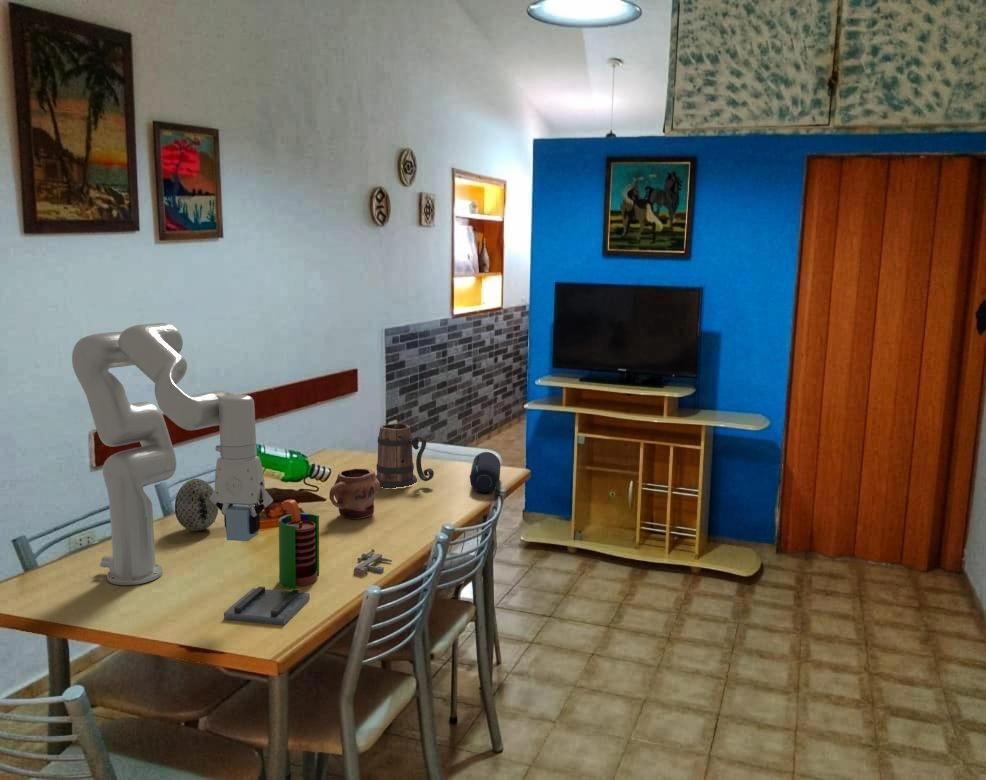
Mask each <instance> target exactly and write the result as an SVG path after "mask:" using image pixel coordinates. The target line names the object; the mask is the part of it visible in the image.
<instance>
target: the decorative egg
mask: <svg viewBox="0 0 986 780" xmlns="http://www.w3.org/2000/svg"><path fill="white" fill-rule="evenodd" d="M214 490H215V489H214V488H213V487H212V485H210V484H209V483H208V482H207V481H205V480H203V479H200V478H192V479H190V480H188V481H186V482H185V483H184V484H182V486H181V487H180V488H179V490H178V492H177V494H176V497H175V500H174V502H175V503H174V512H175V517H176V519H177V521H178V523H179V524H180V525H181V526H182V527H183V528H185V529H186V530H189V531H192V532H201V531H204V530H206V529H208V528H209V527H211V526H212V525H213V524H214V522H215V521H216V519H217V516H218V513H219V508H218V507H217V506H216V504H214V503H213V502H212V501H211V500H210V499H209V497H210V496H211V495H212V493H213V492H214Z"/></svg>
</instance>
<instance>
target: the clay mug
mask: <svg viewBox="0 0 986 780" xmlns="http://www.w3.org/2000/svg"><path fill="white" fill-rule="evenodd" d="M376 475H377V473H376V472H375V470H373V469H370V468H351V469H346V470H343V471H340V472H339V473H338V474H337V478H336V480H335V482H334V484H333V485H332V486H331V488H330V490H329V498H328V499H329V500H330V501H331V503H332V505H333V506H334V507H336V508H338V512H339V514H340V516H341V517H342V518H344V519H350V520H359V519H360V520H361V519H365V518H368V517H371V516H372V515H374V513H375V505H374V504H375V498H376V496H377V494H378V493H379V490H380V489H381V488H380V483H379V481H378V480H377V477H376Z"/></svg>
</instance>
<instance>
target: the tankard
mask: <svg viewBox="0 0 986 780" xmlns="http://www.w3.org/2000/svg"><path fill="white" fill-rule="evenodd" d="M419 440H420V441H419ZM419 442H421V444H420V443H419ZM419 444H420V445H421V446H420V449H419ZM426 447H427V439H426V437H425V436H423V435H418V436H414V437H413V436H412V433H411V428H410V425H408V424H406V423H394V424H392V423H391V424H383V425H380V427H379V433H378V437H377V463H376V468H375V469H376V477H377V480H378V481H379V483H380V487H383V488H382V489H384V488H396V487H404V486H409V485H412V484H414V483H416V482H417V479H418V478H419V479H420V480H421V481H423V482H428V481H430V480H433V478H434V475H435V473H434V470H433V469H432V468H426V469H424V470H423V468H422V456H423V454H424V452H425V449H426ZM413 449H414V450H415V451H416V450H418V452H417V454H416V455H417V456H416V459H415V461H416V462H415V467H416V472H417V475H418V478H417V476H416V475H415V474H414V470H415V467H414V462H413V460H414V459H413ZM427 476H428V477H427Z"/></svg>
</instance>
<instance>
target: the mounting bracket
mask: <svg viewBox="0 0 986 780" xmlns="http://www.w3.org/2000/svg"><path fill="white" fill-rule="evenodd" d="M310 599H311V597H310V593H309V592H301V591H300V589H291V591H288V590H278V589H266V587H265V586H258V587H257V588H255V587H253V588H251V589H250V590H249V591H248V592H246V594H244V595H243V596H242V597H240V598H239V599H238V600H236V602H235V603H234V604H232V605H231V606H230V607H228V609H227V610H225V611H224V612H223V619H224V620H228V621H229V620H230V621H239V622H240V621H241V622H248V623H256V624H257V623H261V624H268V625H269V624H270V625H280V626H285V625H286V624H287V623H288V622H289V621H290V620H291V619H292V618H293V617H294V616H295V615H296V614H297V613H298V612H299V611H300V610H301V609H302V608H303V607H304V606H305V605H306V604H307V603H308V602H309V601H310Z"/></svg>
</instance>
